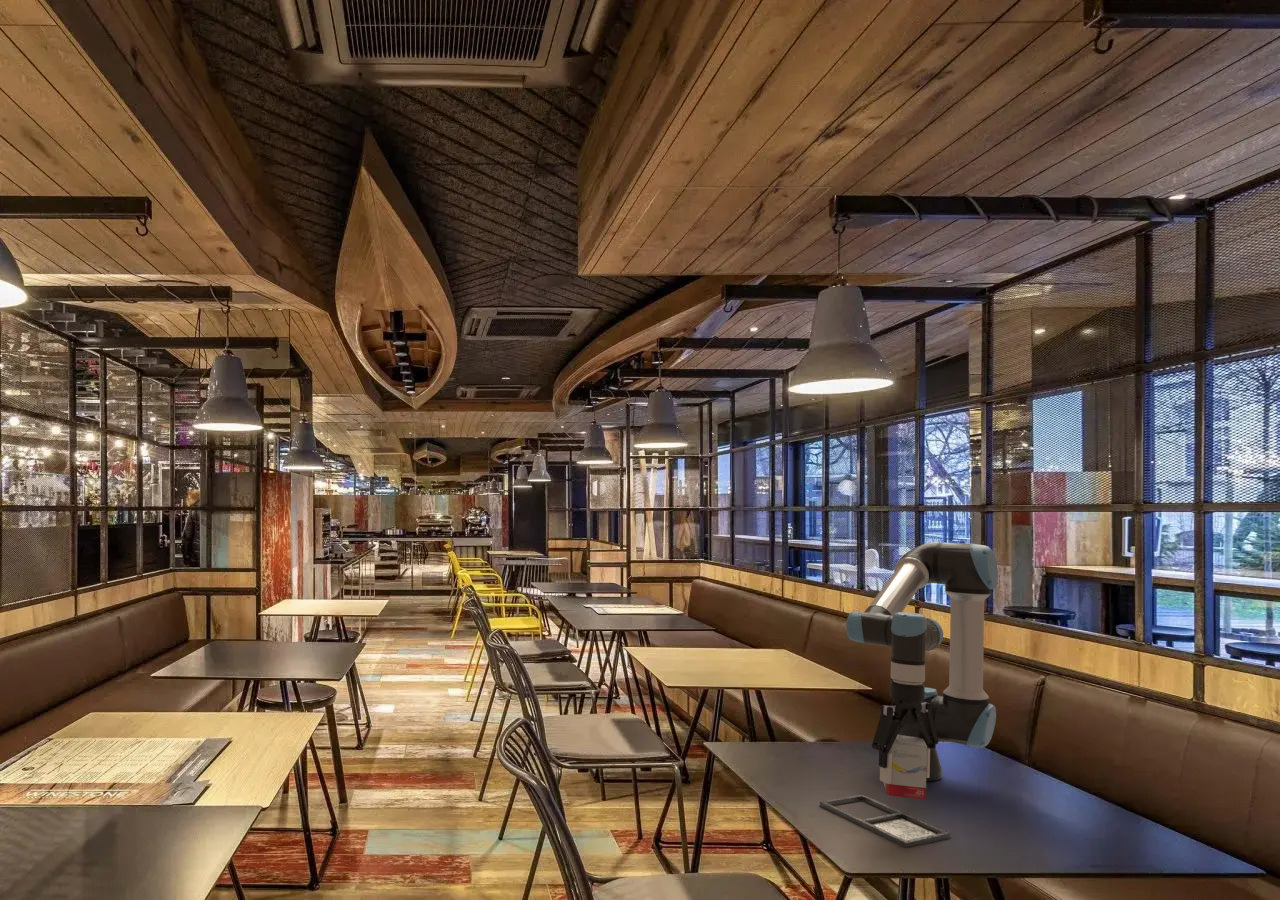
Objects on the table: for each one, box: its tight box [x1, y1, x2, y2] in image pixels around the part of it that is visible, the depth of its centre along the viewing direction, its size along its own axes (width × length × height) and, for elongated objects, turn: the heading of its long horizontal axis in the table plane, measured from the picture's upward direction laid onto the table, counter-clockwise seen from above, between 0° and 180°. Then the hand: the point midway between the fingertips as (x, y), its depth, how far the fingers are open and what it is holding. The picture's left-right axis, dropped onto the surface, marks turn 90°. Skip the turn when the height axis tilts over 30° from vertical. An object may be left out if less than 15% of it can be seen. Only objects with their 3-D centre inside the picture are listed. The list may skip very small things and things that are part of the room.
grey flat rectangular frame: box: [819, 794, 951, 849], centre depth 191 cm, size 14×27×1 cm, turn 30°
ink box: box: [883, 735, 927, 801], centre depth 186 cm, size 9×9×12 cm
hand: (904, 779), depth 186 cm, fingers closed on ink box, 11 cm apart
